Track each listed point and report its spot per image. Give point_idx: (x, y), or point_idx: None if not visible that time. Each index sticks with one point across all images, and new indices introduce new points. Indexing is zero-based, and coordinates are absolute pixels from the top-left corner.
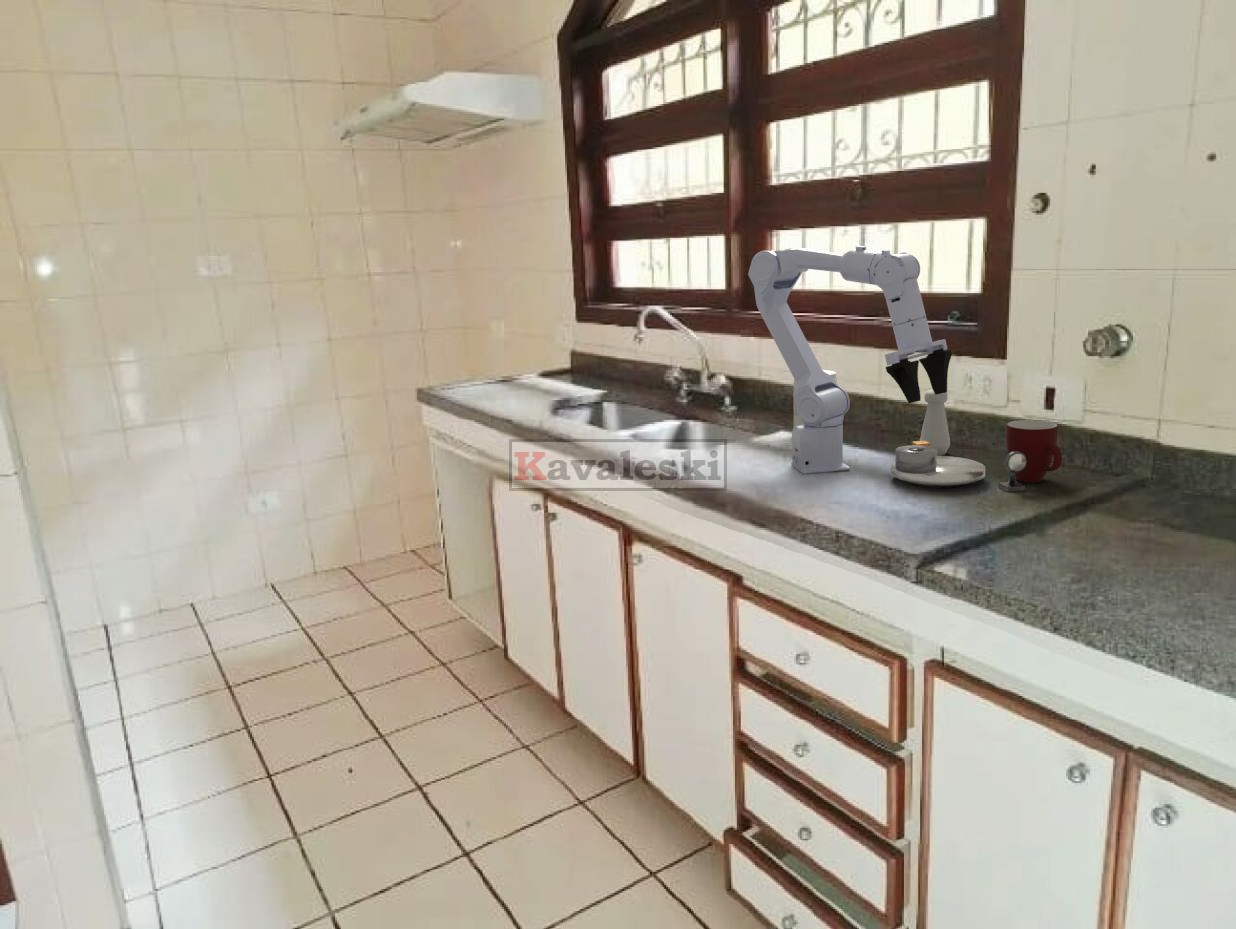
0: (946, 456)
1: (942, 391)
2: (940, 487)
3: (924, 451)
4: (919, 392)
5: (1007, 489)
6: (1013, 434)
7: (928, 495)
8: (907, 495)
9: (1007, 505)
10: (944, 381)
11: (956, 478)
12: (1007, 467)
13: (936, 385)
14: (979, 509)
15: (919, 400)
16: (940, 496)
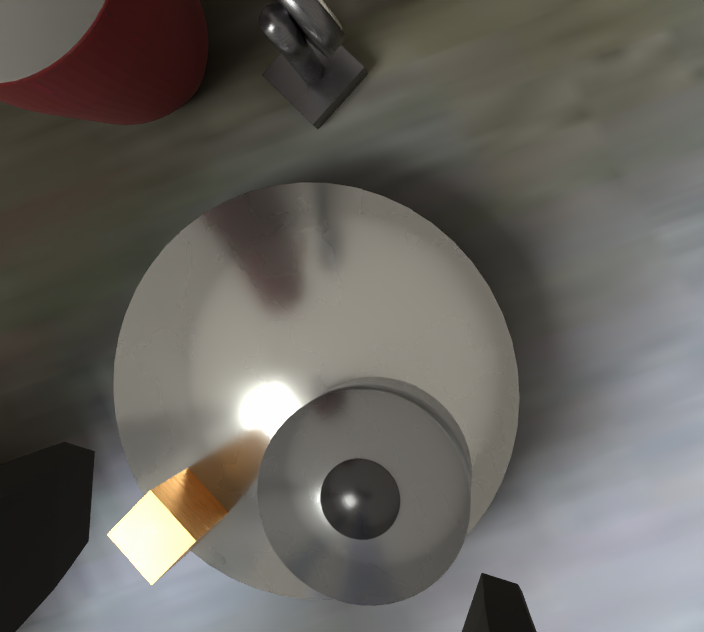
0: (121, 413)
1: (84, 480)
2: None
3: (378, 445)
4: (498, 625)
5: (365, 71)
6: (129, 22)
7: (561, 336)
8: (603, 415)
9: (557, 6)
10: (15, 493)
11: (458, 248)
12: (345, 39)
13: (31, 569)
14: (669, 80)
15: (497, 580)
16: (553, 286)
